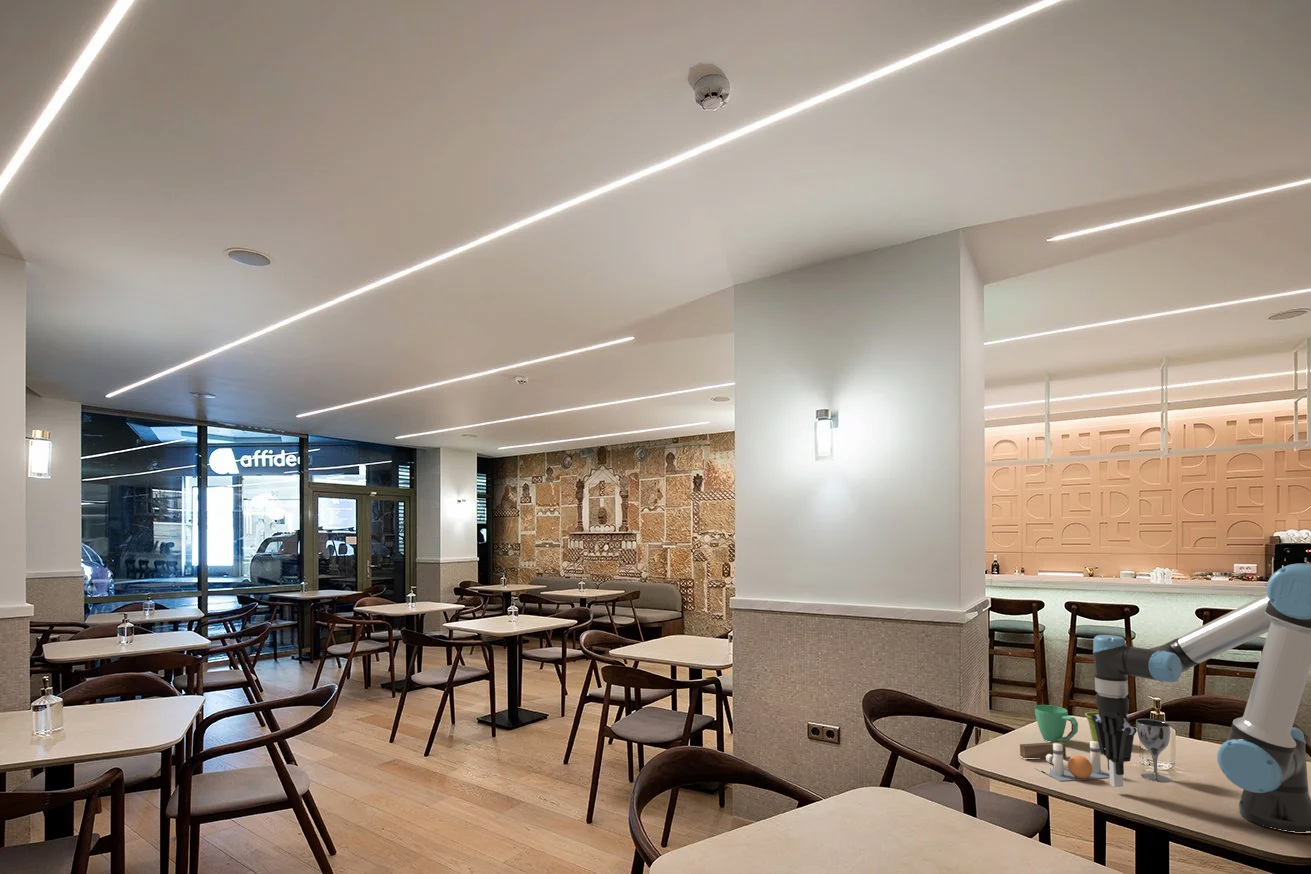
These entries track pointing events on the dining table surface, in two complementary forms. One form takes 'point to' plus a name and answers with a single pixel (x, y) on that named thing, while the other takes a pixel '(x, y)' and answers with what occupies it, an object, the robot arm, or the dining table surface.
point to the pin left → (1058, 759)
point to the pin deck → (1070, 777)
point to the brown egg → (1080, 767)
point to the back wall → (1039, 750)
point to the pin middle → (1051, 760)
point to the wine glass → (1154, 743)
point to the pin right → (1095, 757)
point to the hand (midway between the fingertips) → (1116, 785)
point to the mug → (1054, 722)
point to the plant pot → (1092, 725)
